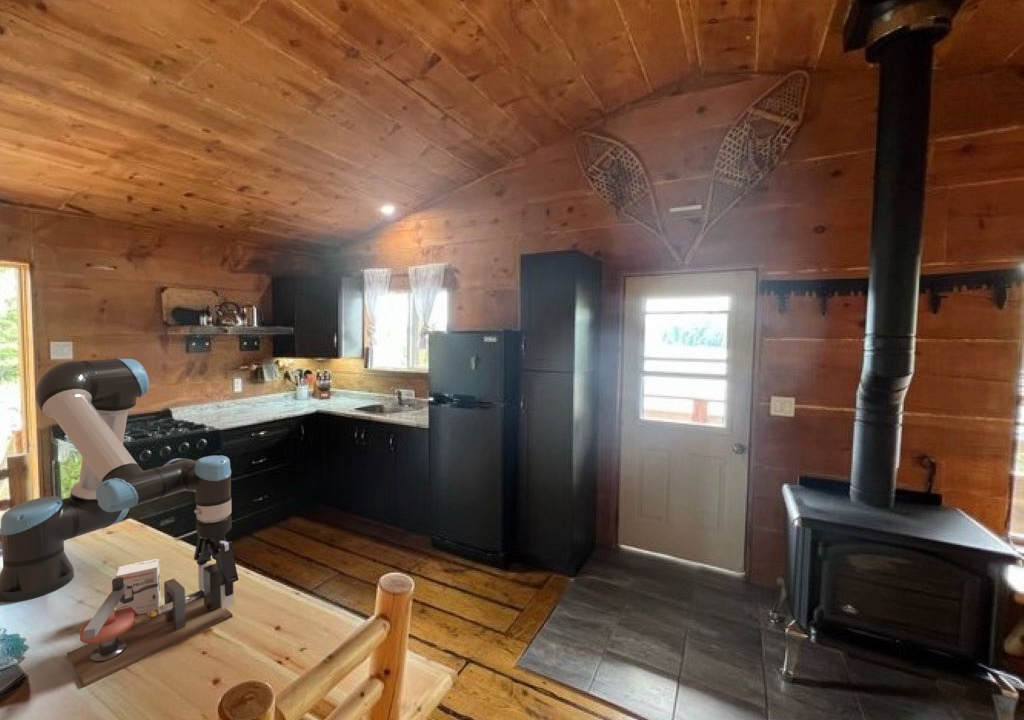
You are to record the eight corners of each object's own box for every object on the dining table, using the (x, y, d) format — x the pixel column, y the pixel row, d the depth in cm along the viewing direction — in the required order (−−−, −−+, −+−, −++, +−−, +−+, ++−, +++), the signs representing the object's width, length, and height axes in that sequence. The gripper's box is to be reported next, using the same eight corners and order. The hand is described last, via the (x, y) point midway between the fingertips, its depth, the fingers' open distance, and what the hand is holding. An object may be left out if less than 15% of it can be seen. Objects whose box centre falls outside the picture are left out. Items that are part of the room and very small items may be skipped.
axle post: (87, 654, 100) (86, 632, 100) (121, 639, 105) (121, 618, 105) (94, 666, 97) (93, 644, 96) (130, 650, 101) (129, 629, 101)
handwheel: (61, 663, 90) (59, 624, 90) (98, 610, 107) (97, 577, 106) (118, 650, 94) (117, 614, 93) (146, 601, 110) (145, 570, 110)
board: (67, 656, 100) (66, 652, 100) (208, 596, 123) (208, 593, 123) (84, 686, 92) (84, 682, 92) (232, 616, 115) (232, 613, 115)
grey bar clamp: (145, 629, 108) (144, 589, 107) (221, 597, 121) (220, 561, 120) (151, 636, 105) (150, 595, 105) (227, 603, 119) (227, 566, 118)
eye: (165, 619, 112) (164, 581, 111) (174, 615, 114) (173, 578, 113) (175, 631, 108) (174, 591, 107) (185, 626, 110) (184, 588, 109)
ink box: (115, 621, 112) (113, 575, 111) (119, 610, 116) (117, 566, 116) (159, 610, 117) (157, 566, 116) (160, 600, 121) (159, 557, 120)
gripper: (178, 509, 120) (180, 586, 122) (219, 536, 106) (221, 623, 108) (209, 501, 127) (211, 574, 128) (252, 525, 112) (254, 607, 114)
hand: (215, 596), depth 118 cm, fingers open, 12 cm apart
